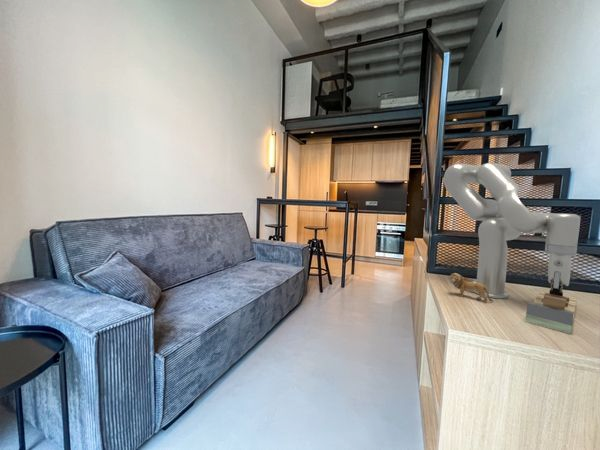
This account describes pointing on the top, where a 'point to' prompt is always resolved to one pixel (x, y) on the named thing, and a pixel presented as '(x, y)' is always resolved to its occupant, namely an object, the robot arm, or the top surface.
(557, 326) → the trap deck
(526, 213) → the robot arm
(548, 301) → the walnut block
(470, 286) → the lion figurine
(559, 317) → the end stop
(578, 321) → the top surface
